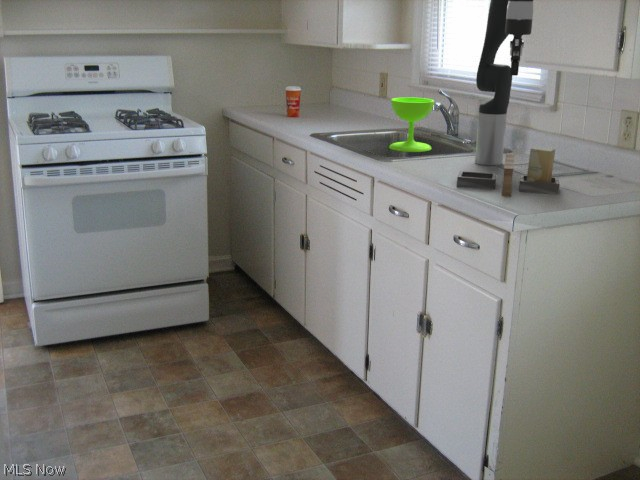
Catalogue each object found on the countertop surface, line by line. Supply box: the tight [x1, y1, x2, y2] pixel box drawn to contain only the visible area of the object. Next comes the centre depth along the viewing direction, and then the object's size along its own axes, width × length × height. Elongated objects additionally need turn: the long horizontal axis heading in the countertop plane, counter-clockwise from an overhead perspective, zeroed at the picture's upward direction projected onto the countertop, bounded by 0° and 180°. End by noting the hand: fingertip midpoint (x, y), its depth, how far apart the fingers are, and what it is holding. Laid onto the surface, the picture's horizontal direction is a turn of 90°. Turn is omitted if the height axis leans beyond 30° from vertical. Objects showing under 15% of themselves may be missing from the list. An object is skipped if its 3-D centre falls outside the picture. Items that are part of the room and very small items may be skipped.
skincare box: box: [527, 146, 556, 183], centre depth 217 cm, size 6×4×12 cm
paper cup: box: [284, 85, 302, 118], centre depth 354 cm, size 8×8×14 cm
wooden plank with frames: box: [456, 152, 560, 198], centre depth 219 cm, size 24×29×8 cm
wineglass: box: [388, 97, 435, 153], centre depth 277 cm, size 16×16×18 cm
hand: (514, 74), depth 221 cm, fingers open, 8 cm apart
